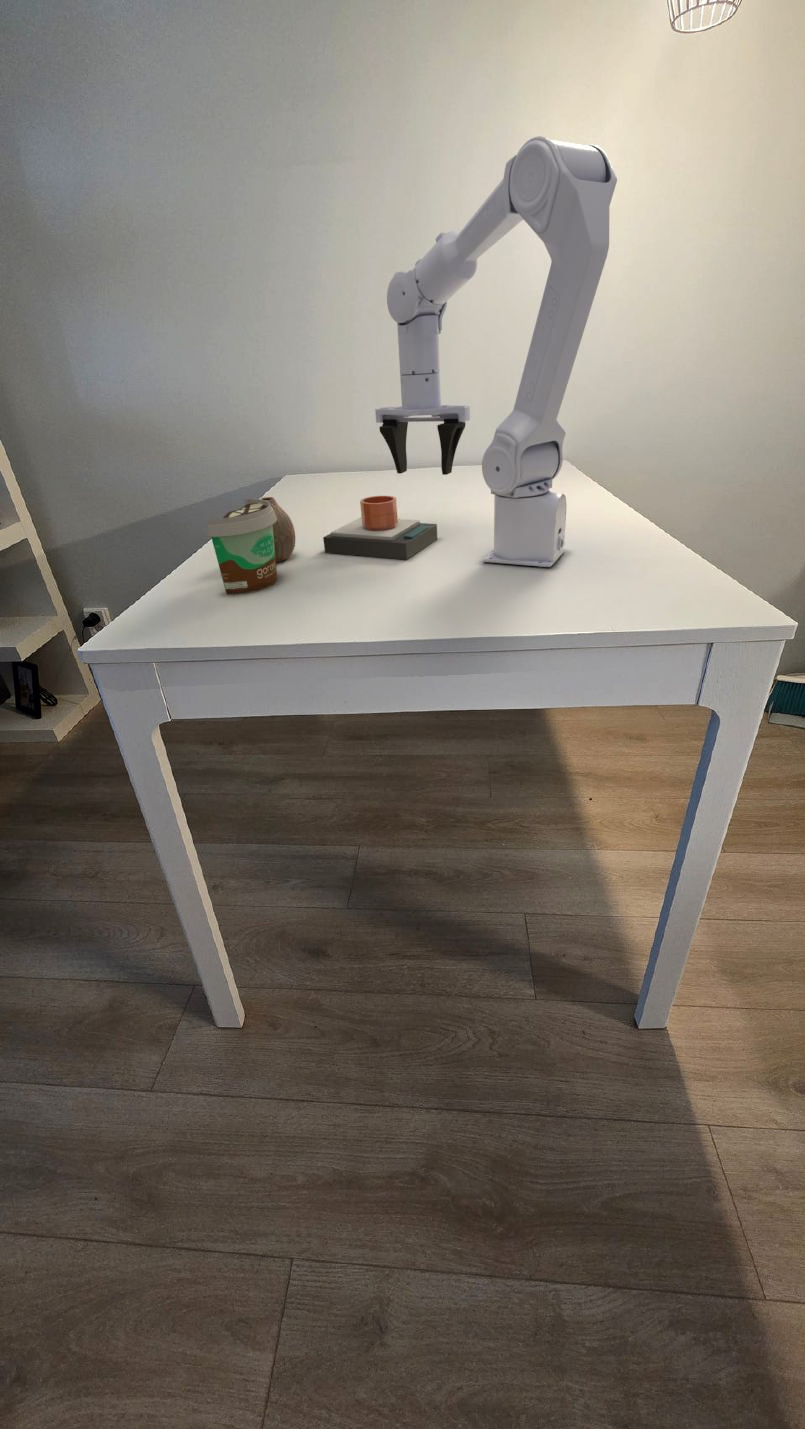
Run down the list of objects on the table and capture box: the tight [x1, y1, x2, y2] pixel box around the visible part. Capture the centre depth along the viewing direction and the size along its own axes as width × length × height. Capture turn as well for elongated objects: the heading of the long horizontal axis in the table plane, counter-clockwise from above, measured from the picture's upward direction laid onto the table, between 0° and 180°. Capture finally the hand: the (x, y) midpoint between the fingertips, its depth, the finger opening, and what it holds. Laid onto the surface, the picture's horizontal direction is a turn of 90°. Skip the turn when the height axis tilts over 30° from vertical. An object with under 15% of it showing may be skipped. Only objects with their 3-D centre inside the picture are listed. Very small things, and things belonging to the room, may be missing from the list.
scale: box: [322, 516, 438, 561], centre depth 99 cm, size 14×11×3 cm
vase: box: [259, 496, 296, 563], centre depth 95 cm, size 7×7×9 cm
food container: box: [206, 497, 278, 595], centre depth 85 cm, size 12×6×10 cm, turn 168°
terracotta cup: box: [359, 495, 399, 531], centre depth 97 cm, size 5×6×4 cm
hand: (424, 473), depth 99 cm, fingers open, 7 cm apart
